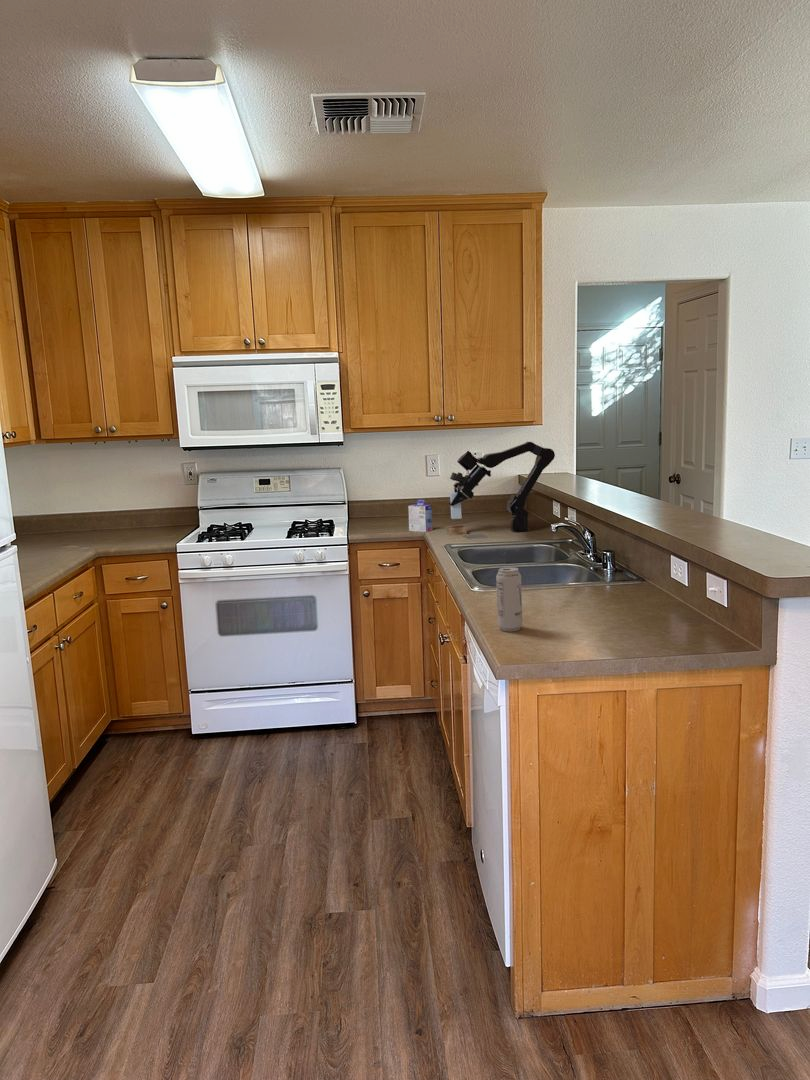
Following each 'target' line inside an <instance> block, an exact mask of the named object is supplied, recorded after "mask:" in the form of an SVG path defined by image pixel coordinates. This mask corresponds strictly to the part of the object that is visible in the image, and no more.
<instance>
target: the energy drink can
mask: <svg viewBox="0 0 810 1080" xmlns="http://www.w3.org/2000/svg"><path fill="white" fill-rule="evenodd" d="M495 579H496V583H495V584H496V605H497V608H496V609H497V610H496V611H497V626H498V627H499V630H500V631H503V632H508V633H509V632H510V633H511V632H517V631H519V630H521V627H523V597H522V596H523V595H522V594H523V593H522V589H523V588H522V575H521V573H520V571H519V568H518V567H515V566H507V567H506V566H505V567H500V568H498V572H497V573H496V577H495Z"/></svg>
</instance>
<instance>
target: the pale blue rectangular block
mask: <svg viewBox="0 0 810 1080" xmlns="http://www.w3.org/2000/svg"><path fill="white" fill-rule="evenodd" d="M456 495H457V492H456V493H454V492H449V498H450V500H449V502H450V503H451V502H452V501H453V499H454V498H455V496H456ZM462 517H463V516H462V502H460V503H458V504H456V505H454V506H451V505H450V518H451V520H457V519H458V520H459V519H460V520H461V519H462Z"/></svg>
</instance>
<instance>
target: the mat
mask: <svg viewBox="0 0 810 1080" xmlns="http://www.w3.org/2000/svg"><path fill="white" fill-rule="evenodd" d="M467 535H468V536H467ZM462 537H464V538H466V539H467V540H472V539H485V538H488V536H487V535H485V534H483V533H479V534H478V533H477V534H465V535H462Z"/></svg>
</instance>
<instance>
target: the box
mask: <svg viewBox="0 0 810 1080" xmlns="http://www.w3.org/2000/svg"><path fill="white" fill-rule="evenodd" d="M467 532H468V531H467V527H466V526H465V525H450V526H446V534H447V535H448V536H464V535H463V534H465V535H468V533H467Z"/></svg>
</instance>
